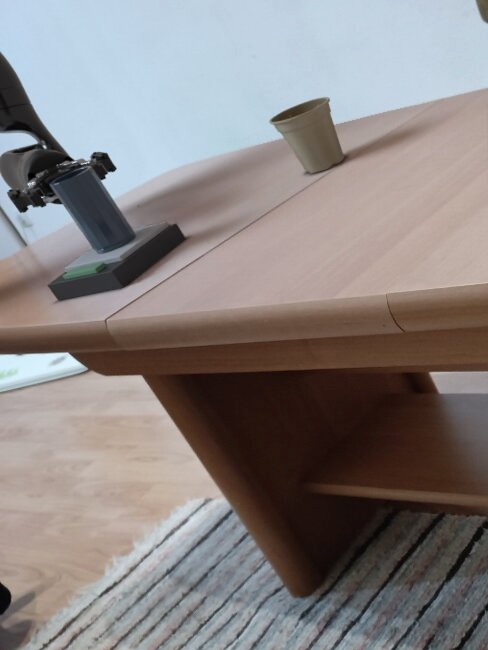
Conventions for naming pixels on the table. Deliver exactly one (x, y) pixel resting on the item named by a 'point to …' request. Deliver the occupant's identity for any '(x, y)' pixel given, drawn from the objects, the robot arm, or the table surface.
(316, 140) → the flower pot
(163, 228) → the scale
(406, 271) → the table surface
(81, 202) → the cup
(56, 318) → the table surface
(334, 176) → the table surface
